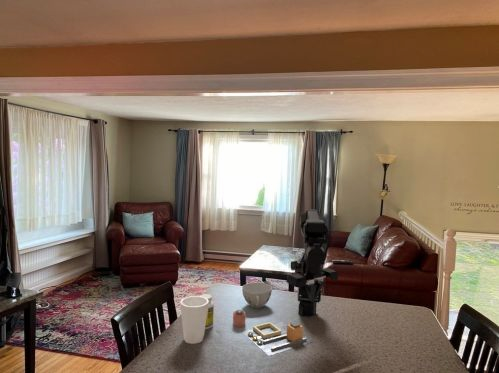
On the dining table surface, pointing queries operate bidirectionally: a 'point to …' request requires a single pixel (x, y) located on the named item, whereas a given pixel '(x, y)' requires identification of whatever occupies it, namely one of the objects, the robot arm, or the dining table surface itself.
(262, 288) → the teacup
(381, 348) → the dining table surface
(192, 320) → the foam cup
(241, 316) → the salmon cylinder
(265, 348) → the panel
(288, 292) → the dining table surface
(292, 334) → the toggle
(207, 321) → the pill bottle
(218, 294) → the dining table surface
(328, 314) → the dining table surface
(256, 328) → the socket
